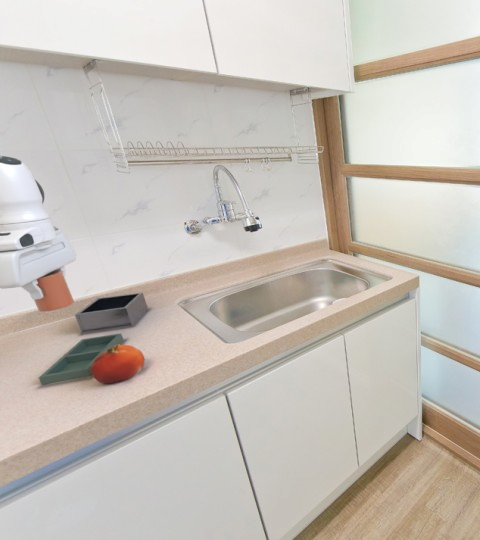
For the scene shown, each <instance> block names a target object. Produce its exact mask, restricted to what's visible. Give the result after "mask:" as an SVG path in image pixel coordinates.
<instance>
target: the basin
mask: <svg viewBox="0 0 480 540" xmlns="http://www.w3.org/2000/svg"><path fill="white" fill-rule="evenodd" d="M148 311H149V308H148V305H147V301H146V298H145V295H144V292H135V293H128V294H119V295H113V296H112V295H111V296H105V297H97V298H96V299H95V300H93V301H92V302H91V303H89V304H88V305H86V306H85V307H84V308H82V309H81V310H79V311H78V312H77V313H76V314H75V313H74V317H75V319H76V321H77V324H78V327H79V329H80V331H81V334H82V335H86V334H88V335H89V334H95V333H101V332H107V331H113V330H120V329H126V328H133V327H134V326H135V325H136V324H137V323H138V322H139V320H141V318H142V317H143V316H144V315H145V314H146V313H147V312H148Z"/></svg>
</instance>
